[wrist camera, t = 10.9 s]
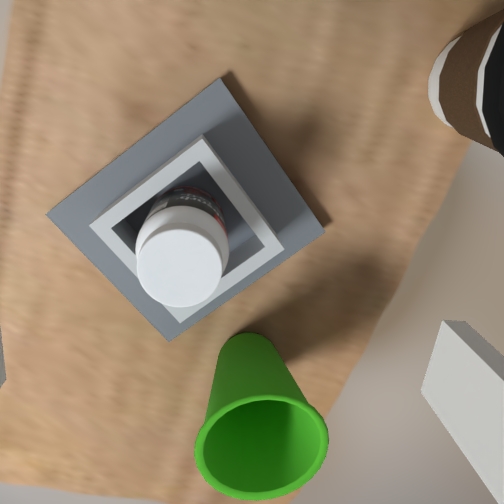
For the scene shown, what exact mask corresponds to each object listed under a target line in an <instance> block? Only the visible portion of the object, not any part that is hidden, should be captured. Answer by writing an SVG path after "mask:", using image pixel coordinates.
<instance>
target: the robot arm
mask: <svg viewBox="0 0 504 504" xmlns="http://www.w3.org/2000/svg"><path fill="white" fill-rule="evenodd" d="M5 380H6V372H5V363H4V354H3V345H2V336H1V328H0V388H1V386H2V385H3V383H4V382H5ZM421 393H422V394H423V396H424V397H425V399H426V400H427V402H428V403H429V404H430V406H431V407H432V409H433V410H434V412H435V413H436V414H437V416H438V417H439V419H440V420H441V422H442V423H443V424H444V426H445V427H446V429H447V430H448V432H449V433H450V435H451V436H452V437H453V439H454V440H455V442H456V443H457V444H458V446H459V448H460V449H461V450H462V452H463V453H464V455H465V456H466V458H467V459H468V460H469V462H470V463H471V465H472V466H473V468H474V469H475V471H476V472H477V473H478V474H479V476H480V478H481V479H482V481H483V482H484V483H485V485H486V486H487V488H488V489H489V491H490V492H491V494H492V495H493V496H494V498H495V499H496V501H497V502H498V503H499V504H504V356H503V355H502V354H500V353H499V352H498V351H497V350H496V349H495V348H494V347H493V346H492V345H491V344H489V343H488V342H487V341H486V340H485V339H484V338H483V337H482V336H481V335H480V334H479V333H477V332H476V331H475V330H474V329H473V328H472V327H471V326H470V325H469V324H468V323H466V322H465V321H451V320H442V323H441V327H440V330H439V333H438V336H437V340H436V343H435V346H434V349H433V353H432V356H431V359H430V362H429V366H428V369H427V372H426V375H425V379H424V382H423V385H422V388H421Z"/></svg>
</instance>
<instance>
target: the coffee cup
mask: <svg viewBox="0 0 504 504" xmlns="http://www.w3.org/2000/svg"><path fill="white" fill-rule="evenodd" d="M428 97H429V100H430V102H431V105H432V108H433V110H434V113H435V114H436V115H437V116H438V117H439V118H440V119H441V120H442V121H443V122H444V123H445V124H446V125H448V126H450V127H452V128H454V129H455V130H456V131H457V132H458V133H459V134H461V135H463V136H465V137H467V138H469V139H472V140H474V141H476V142H478V143H480V144H482V145H484V146H487V147H489V148H491V149H493V150H495V151H497V152H499V153H500V154H501V155H502V156H503V157H504V9H503V10H501V11H500V12H498V13H496V14H494V15H492V16H491V17H489V18H487V19H485V20H484V21H482V22H480V23H479V24H477V25H475V26H473V27H472V28H470V29H468V30H467V31H465V32H464V33H463V35H462V36H460V37H458V38H457V39H455V40H453V41H452V42H450V43H449V44H448V45H447V46H446V48H445V49H444V50H443V51H442V52H441V54H440V55H439V56H438V57H437V59H436V61H435V63H434V66H433V68H432V71H431V74H430V76H429V79H428Z"/></svg>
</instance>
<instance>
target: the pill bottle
mask: <svg viewBox="0 0 504 504" xmlns="http://www.w3.org/2000/svg"><path fill="white" fill-rule="evenodd" d="M135 251H136V259H137V275H138V278H139V281H140V283H141V285H142V287H143V288H144V290H145V291H146V292H147V293H148V294H149V295H150V296H151V297H152V298H153V299H155V300H156V301H158V302H160V303H162V304H164V305H168V306H172V307H189V306H193V305H196V304H199V303H201V302H203V301H204V300H206V299H207V298H208V297H210V296H211V295H212V294H213V293H214V291H215V290H216V289H217V287H218V285H219V283H220V281H221V278H222V274H223V272H224V270H225V268H226V266H227V263H228V258H229V243H228V237H227V231H226V225H225V218H224V214H223V211H222V209H221V207H220V205H219V204H218V202H217V201H216V200H215V199H214V198H213V197H212V196H211V195H210V194H208V193H207V192H205V191H203V190H201V189H198V188H195V187H177V188H174V189H171V190H169V191H167V192H165V193H164V194H162V195H161V196H160V197H159V198H158V199H157V200H156V201H155V203H154V204H153V206H152V208H151V210H150V212H149V214H148V216H147V218H146V220H145V222H144V224H143V225H142V227H141V229H140V231H139V234H138V237H137V241H136V248H135Z"/></svg>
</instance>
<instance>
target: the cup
mask: <svg viewBox="0 0 504 504" xmlns="http://www.w3.org/2000/svg"><path fill="white" fill-rule="evenodd" d="M328 444H329V437H328V429H327V426H326V424H325V422H324V419H323V417H322V416H321V415H320V414H319V413H318V411H317V410H316V409H315V408H314V407H313V406H311V405H310V404H309V403H308V402H307V400H306V398H305V397H304V395H303V393H302V392H301V390H300V388H299V387H298V385H297V383H296V382H295V380H294V378H293V377H292V375H291V373H290V372H289V370H288V368H287V367H286V365H285V363H284V362H283V360H282V358H281V357H280V355H279V353H278V352H277V350H276V348H275V347H274V345H273V344H272V343H271V342H270V340H268V339H267V338H265V337H264V336H262V335H259V334H256V333H250V332H249V333H241V334H238V335H236V336H234V337H232V338H231V339H229V340H228V341H227V342H226V343H225V344H224V346H223V347H222V348H221V350H220V353H219V356H218V361H217V365H216V370H215V375H214V380H213V384H212V389H211V394H210V398H209V403H208V408H207V412H206V417H205V422H204V424H203V426H202V427H201V429H200V431H199V433H198V436H197V439H196V441H195V451H194V456H195V460H196V464H197V468H198V469H199V471H200V473H201V474H202V476H203V477H204V479H205V480H206V482H208V483H209V484H210V485H211V486H212V487H213V488H214V489H216V490H217V491H219V492H221V493H223V494H225V495H227V496H230V497H234V498H238V499H242V500H256V501H257V500H265V499H273V498H276V497H279V496H283V495H286V494H288V493H290V492H292V491H294V490H296V489H298V488H300V487H301V486H302V485H304V484H305V483H306V482H308V481H309V480H310V479H311V478H312V477H313V476H314V474H316V472H317V471H318V470H319V469H320V467H321V465H322V463H323V461H324V459H325V457H326V453H327V449H328Z"/></svg>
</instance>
